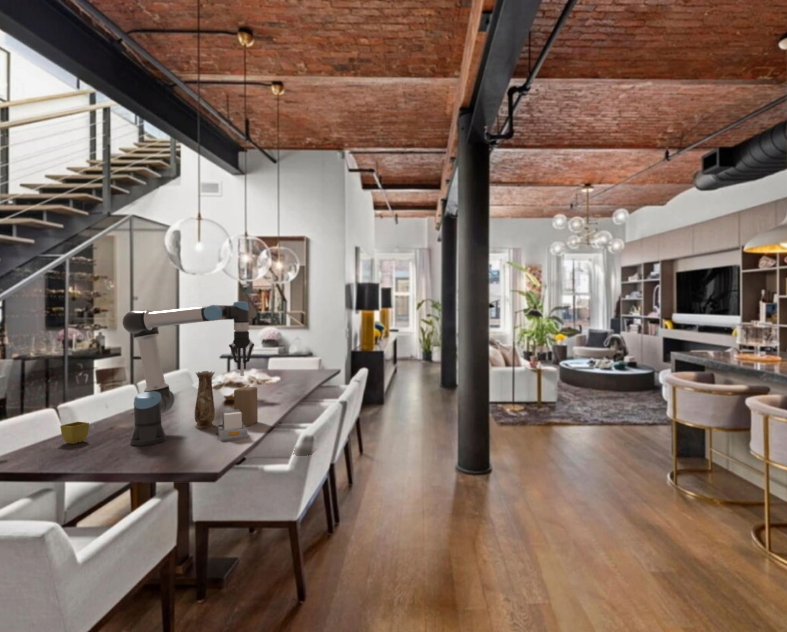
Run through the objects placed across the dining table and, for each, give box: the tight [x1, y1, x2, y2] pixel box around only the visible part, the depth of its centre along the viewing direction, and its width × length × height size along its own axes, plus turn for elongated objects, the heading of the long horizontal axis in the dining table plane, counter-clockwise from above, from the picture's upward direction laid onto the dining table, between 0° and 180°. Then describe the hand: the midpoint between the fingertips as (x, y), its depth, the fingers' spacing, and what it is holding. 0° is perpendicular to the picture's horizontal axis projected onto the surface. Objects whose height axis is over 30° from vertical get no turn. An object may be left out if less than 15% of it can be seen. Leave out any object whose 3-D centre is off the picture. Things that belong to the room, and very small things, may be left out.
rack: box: [217, 409, 249, 442], centre depth 233 cm, size 13×16×12 cm
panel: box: [224, 412, 242, 430], centre depth 230 cm, size 8×4×11 cm, turn 117°
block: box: [233, 386, 259, 427], centre depth 256 cm, size 10×10×20 cm
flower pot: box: [59, 421, 90, 445], centre depth 223 cm, size 9×9×9 cm
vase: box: [194, 370, 216, 429], centre depth 251 cm, size 10×11×30 cm
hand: (242, 375), depth 241 cm, fingers closed
